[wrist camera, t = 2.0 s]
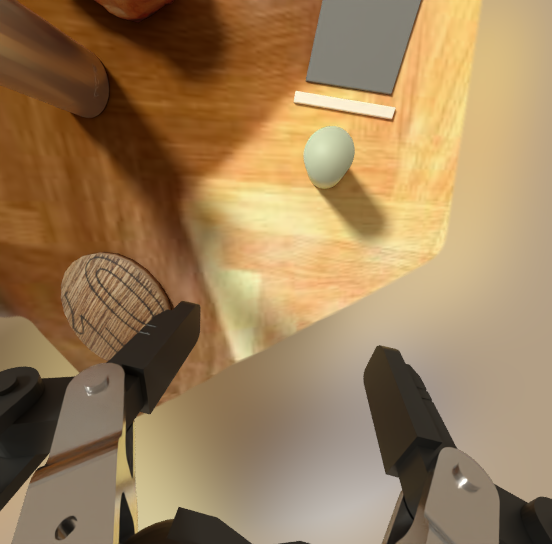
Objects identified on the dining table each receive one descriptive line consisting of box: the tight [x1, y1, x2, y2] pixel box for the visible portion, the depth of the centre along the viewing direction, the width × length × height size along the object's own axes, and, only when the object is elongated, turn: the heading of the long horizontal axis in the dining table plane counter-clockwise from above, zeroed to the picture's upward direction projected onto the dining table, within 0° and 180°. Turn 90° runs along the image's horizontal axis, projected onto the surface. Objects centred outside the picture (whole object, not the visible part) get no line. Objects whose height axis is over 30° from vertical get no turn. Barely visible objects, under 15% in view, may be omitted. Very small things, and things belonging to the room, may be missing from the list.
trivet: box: [61, 252, 172, 361], centre depth 46 cm, size 25×25×2 cm
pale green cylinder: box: [304, 126, 354, 189], centre depth 27 cm, size 5×5×10 cm
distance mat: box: [294, 0, 421, 119], centre depth 27 cm, size 13×17×1 cm
